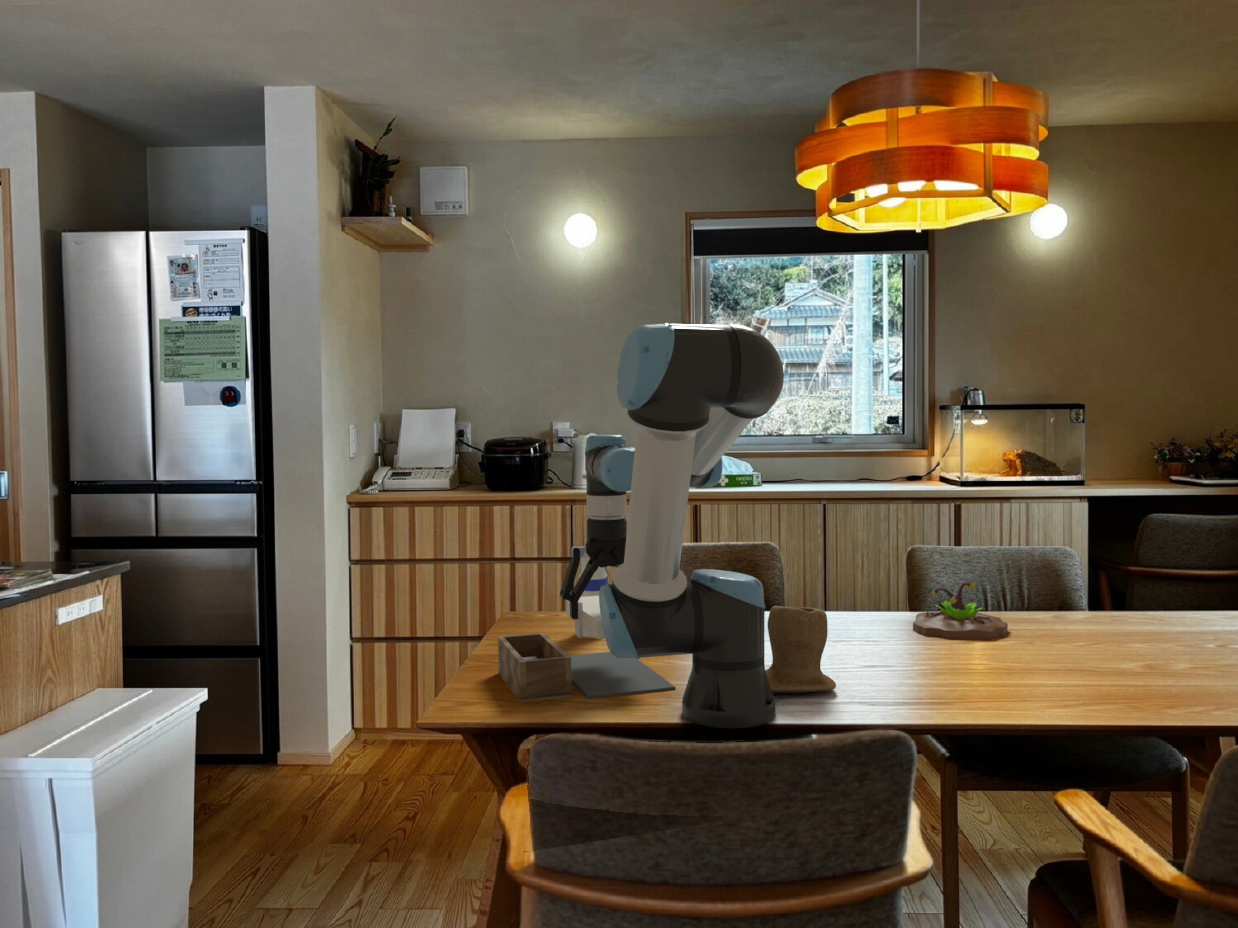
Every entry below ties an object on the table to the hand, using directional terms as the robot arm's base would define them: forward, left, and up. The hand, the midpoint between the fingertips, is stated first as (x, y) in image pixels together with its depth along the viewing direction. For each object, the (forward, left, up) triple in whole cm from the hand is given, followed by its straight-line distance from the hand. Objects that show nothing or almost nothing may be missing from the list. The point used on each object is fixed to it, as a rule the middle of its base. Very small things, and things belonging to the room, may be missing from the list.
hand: (608, 633), depth 180 cm
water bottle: (+33, -7, -8) cm, 35 cm away
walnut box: (-2, +15, -8) cm, 17 cm away
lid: (0, 0, +2) cm, 2 cm away
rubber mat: (0, 0, -8) cm, 8 cm away
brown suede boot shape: (-21, -27, -8) cm, 35 cm away
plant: (+7, -84, -8) cm, 85 cm away
